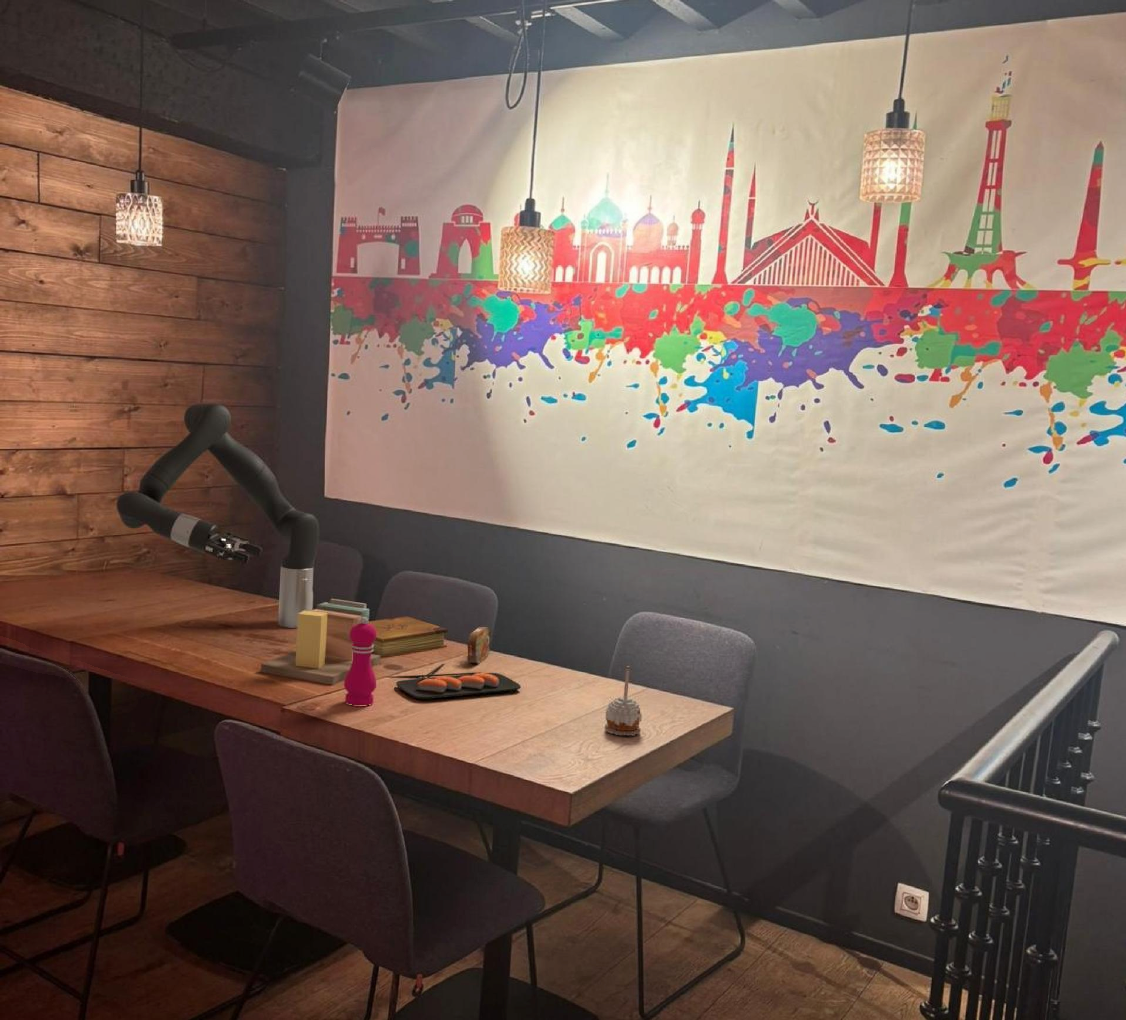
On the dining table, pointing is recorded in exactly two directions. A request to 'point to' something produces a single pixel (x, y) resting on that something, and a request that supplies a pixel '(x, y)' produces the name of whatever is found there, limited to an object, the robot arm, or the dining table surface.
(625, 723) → the caramel apple
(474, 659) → the tin
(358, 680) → the pepper mill
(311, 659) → the tall mustard yellow pillar
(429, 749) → the dining table surface
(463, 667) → the dining table surface
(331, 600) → the blocks on base plate
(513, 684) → the sushi plate
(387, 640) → the diary
